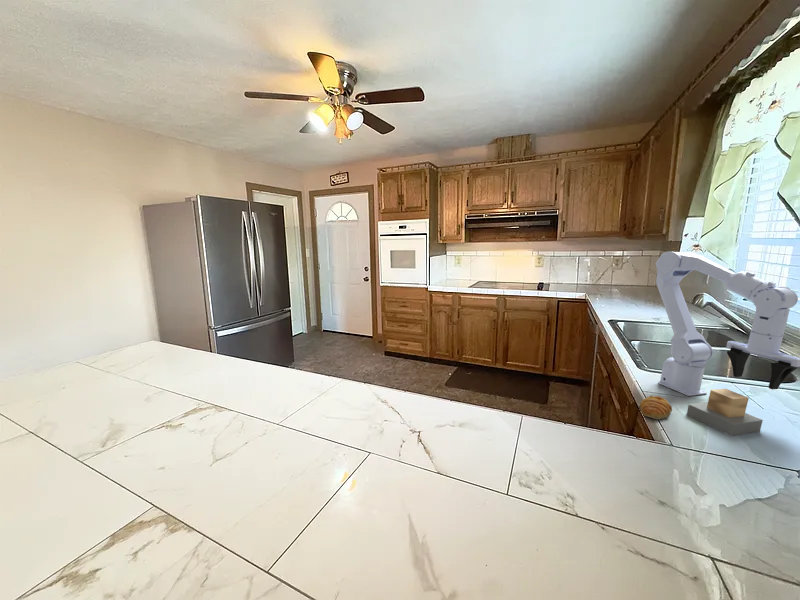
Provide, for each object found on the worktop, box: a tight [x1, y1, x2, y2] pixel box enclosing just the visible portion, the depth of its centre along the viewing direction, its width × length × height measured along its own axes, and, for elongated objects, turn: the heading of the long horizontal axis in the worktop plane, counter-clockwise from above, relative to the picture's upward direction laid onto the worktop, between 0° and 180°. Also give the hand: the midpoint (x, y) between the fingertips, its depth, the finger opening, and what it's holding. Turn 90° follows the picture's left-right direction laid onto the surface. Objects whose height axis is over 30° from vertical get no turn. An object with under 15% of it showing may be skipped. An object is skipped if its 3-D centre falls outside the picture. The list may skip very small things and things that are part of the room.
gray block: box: [686, 401, 764, 437], centre depth 85 cm, size 10×10×3 cm
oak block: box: [707, 388, 750, 418], centre depth 85 cm, size 5×5×5 cm
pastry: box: [639, 395, 673, 421], centre depth 89 cm, size 9×7×4 cm
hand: (754, 382), depth 88 cm, fingers open, 7 cm apart
